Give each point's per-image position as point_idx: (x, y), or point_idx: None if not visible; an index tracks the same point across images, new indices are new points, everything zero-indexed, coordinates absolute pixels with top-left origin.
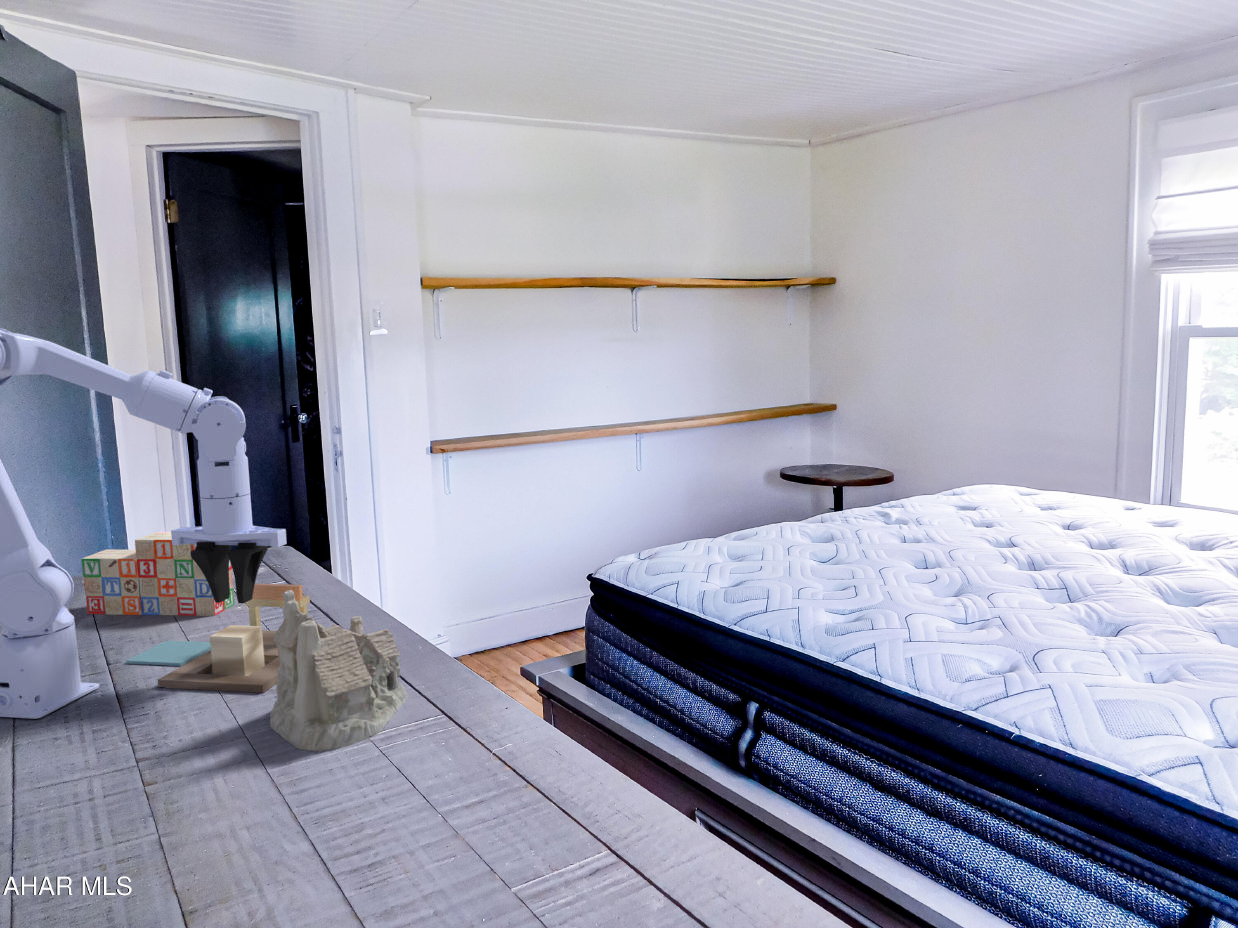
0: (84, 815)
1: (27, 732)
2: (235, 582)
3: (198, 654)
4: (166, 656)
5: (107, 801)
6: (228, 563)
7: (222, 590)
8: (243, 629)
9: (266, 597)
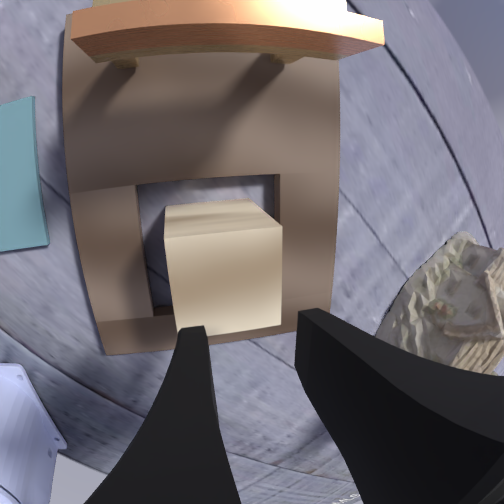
0: (291, 496)
1: (92, 461)
2: (335, 441)
3: (37, 176)
4: None
5: (295, 488)
6: (222, 444)
7: (214, 392)
8: (241, 267)
9: (199, 41)
